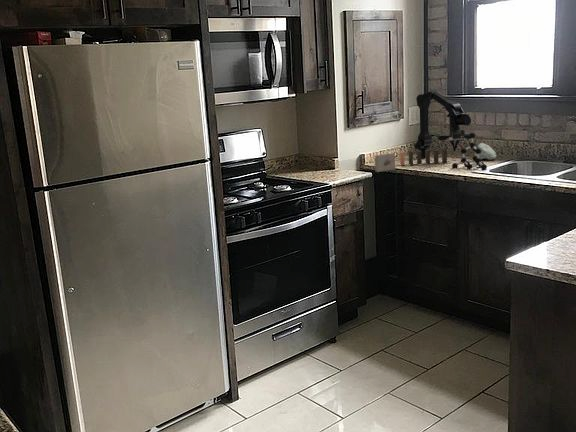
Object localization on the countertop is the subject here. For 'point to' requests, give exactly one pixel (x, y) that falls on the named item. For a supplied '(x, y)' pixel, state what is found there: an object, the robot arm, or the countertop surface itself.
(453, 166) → the molecular model
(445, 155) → the domino
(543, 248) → the countertop surface
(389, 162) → the fossil
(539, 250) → the countertop surface
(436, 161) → the domino
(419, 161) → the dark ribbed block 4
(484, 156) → the decorative stone
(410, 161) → the domino
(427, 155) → the domino
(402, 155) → the domino
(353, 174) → the countertop surface
